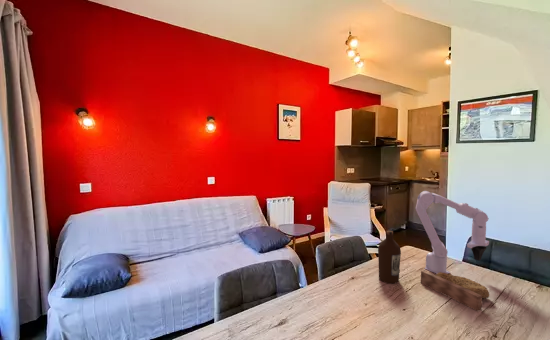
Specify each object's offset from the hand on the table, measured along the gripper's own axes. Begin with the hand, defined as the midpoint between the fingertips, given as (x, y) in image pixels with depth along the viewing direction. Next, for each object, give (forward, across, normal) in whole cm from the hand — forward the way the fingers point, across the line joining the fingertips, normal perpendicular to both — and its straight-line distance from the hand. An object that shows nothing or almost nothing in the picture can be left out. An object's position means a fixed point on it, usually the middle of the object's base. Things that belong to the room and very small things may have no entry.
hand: (477, 259), depth 137 cm
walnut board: (+9, -30, -6) cm, 32 cm away
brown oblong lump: (+10, -22, -6) cm, 25 cm away
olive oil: (+10, -44, +16) cm, 47 cm away
